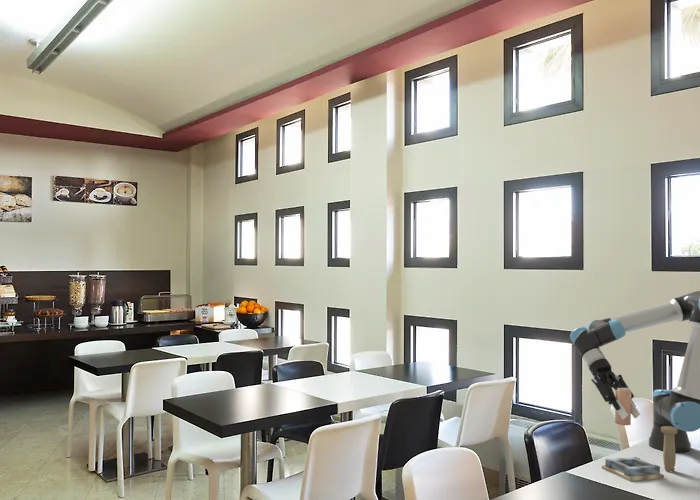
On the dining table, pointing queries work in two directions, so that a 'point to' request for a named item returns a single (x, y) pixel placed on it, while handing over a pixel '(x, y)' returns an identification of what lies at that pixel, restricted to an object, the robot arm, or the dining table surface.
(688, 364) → the robot arm
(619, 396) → the copper orange rectangular block
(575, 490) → the dining table surface
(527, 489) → the dining table surface
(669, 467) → the handle
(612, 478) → the dining table surface
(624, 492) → the dining table surface
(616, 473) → the square frame tray
